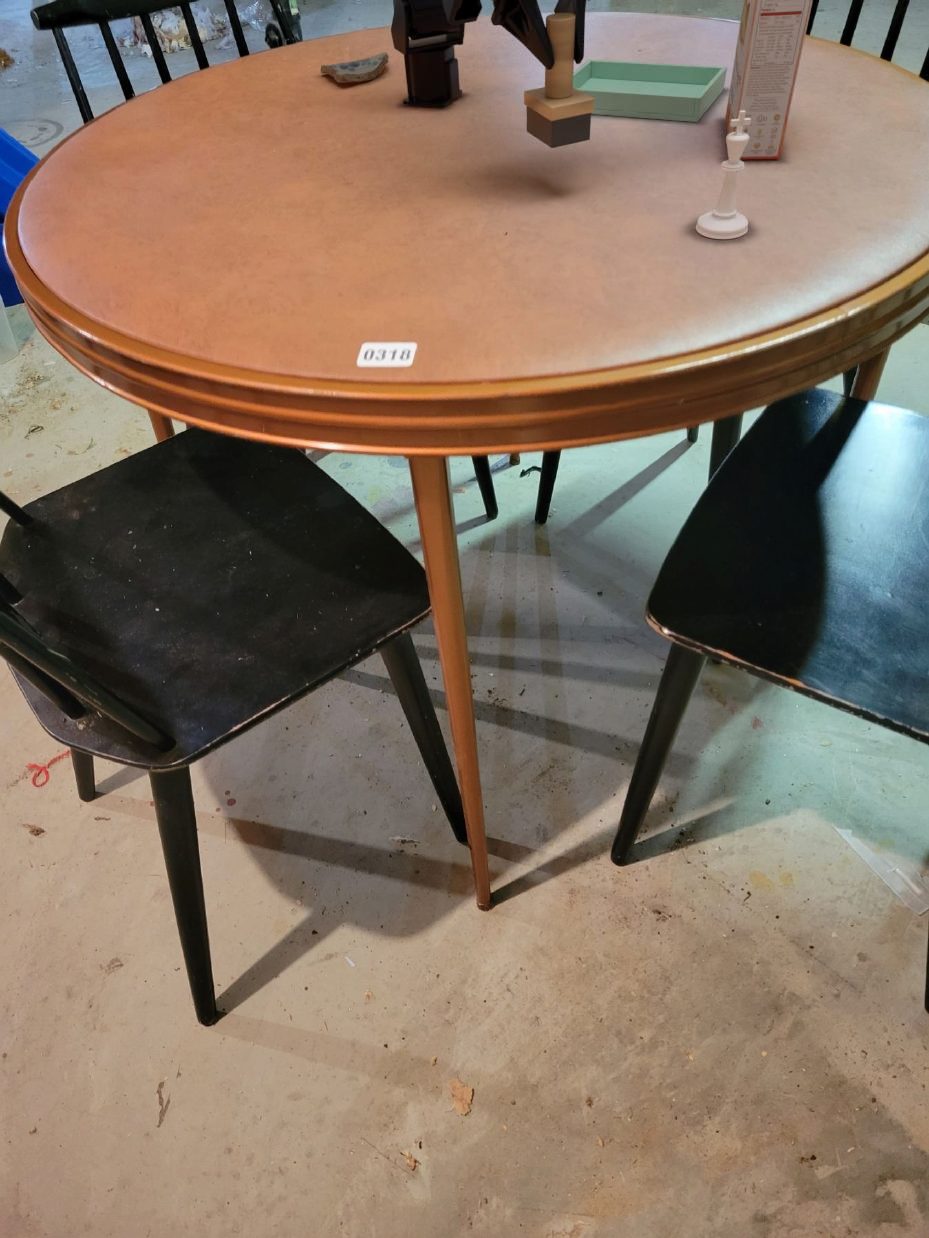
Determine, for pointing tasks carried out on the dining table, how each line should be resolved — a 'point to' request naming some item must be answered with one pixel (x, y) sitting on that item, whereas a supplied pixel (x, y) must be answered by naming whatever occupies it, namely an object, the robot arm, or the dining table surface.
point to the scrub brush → (559, 92)
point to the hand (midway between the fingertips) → (565, 64)
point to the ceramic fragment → (357, 69)
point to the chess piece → (728, 190)
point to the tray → (650, 88)
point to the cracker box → (766, 71)
